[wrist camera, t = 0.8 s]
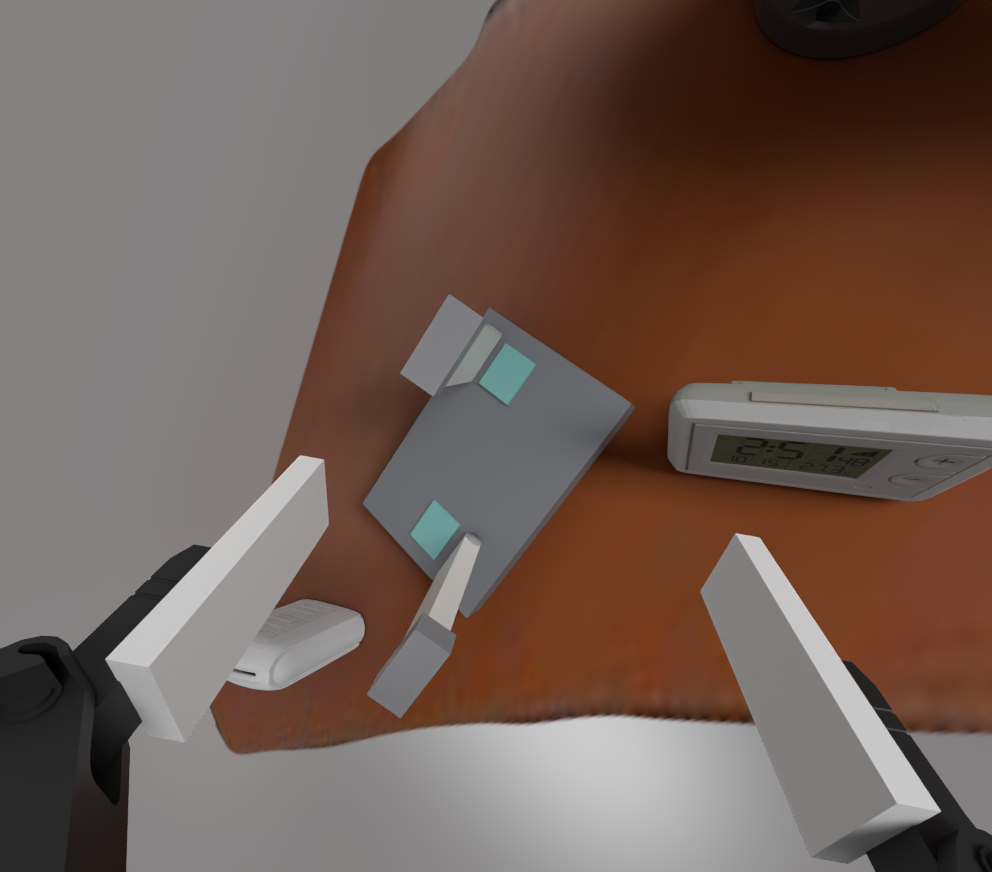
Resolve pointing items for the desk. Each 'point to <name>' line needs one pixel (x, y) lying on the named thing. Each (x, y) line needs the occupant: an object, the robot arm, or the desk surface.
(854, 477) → the digital clock
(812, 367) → the desk surface
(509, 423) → the switch unit
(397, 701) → the lever
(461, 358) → the lever
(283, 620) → the photo printer
